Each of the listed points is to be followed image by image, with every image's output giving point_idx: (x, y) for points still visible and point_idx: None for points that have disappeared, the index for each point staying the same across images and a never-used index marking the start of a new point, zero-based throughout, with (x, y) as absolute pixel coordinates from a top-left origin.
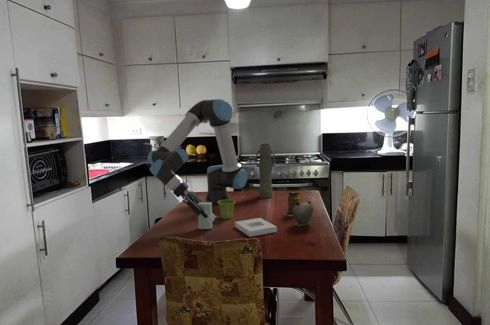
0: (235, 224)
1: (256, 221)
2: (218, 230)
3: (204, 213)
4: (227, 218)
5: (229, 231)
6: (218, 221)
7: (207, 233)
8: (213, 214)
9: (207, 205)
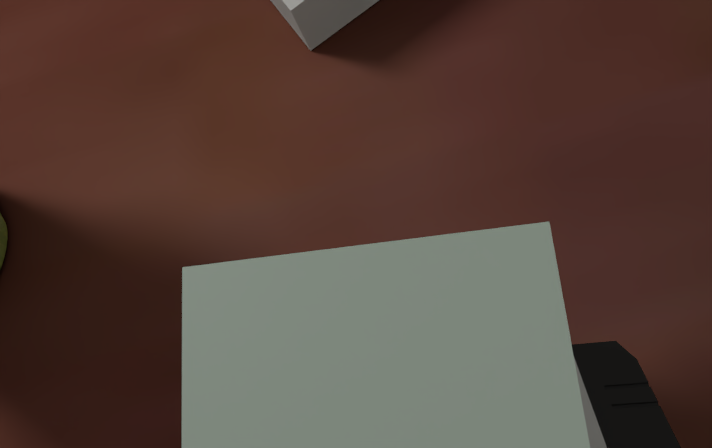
0: (312, 22)
1: None
2: (485, 214)
3: (664, 436)
4: (4, 222)
5: (500, 64)
6: (99, 320)
7: (657, 339)
8: None
9: (561, 359)
